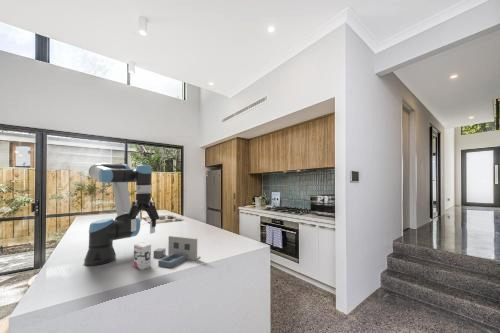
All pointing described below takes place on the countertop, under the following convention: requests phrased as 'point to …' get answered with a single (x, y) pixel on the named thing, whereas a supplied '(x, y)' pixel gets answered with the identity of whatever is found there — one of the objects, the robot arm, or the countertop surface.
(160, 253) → the brick
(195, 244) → the plate
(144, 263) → the ink box
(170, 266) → the dock
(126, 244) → the countertop surface
